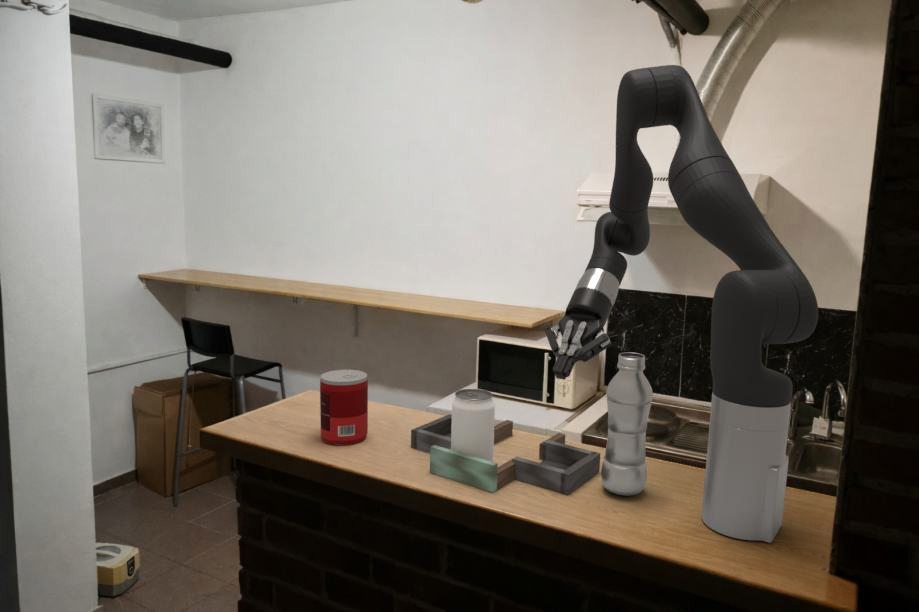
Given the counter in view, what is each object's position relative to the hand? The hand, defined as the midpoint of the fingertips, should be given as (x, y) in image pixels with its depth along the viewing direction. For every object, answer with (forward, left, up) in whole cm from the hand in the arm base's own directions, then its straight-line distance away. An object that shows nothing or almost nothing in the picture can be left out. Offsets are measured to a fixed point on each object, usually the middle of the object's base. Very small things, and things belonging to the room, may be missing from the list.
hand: (559, 376), depth 120 cm
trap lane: (+2, +15, -11) cm, 19 cm away
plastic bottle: (-18, +14, -11) cm, 26 cm away
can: (+3, +22, -11) cm, 24 cm away
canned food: (+28, +24, -11) cm, 38 cm away
